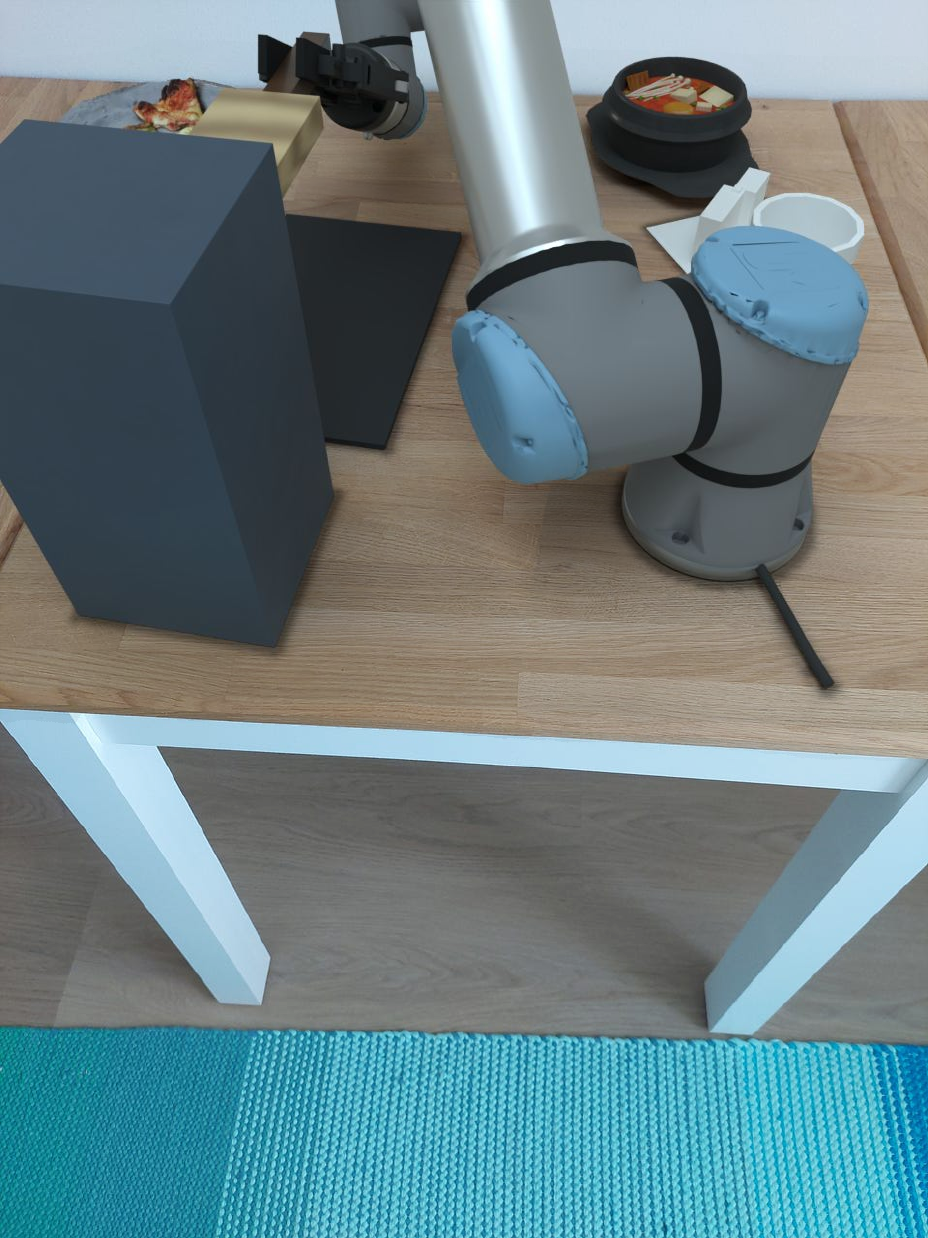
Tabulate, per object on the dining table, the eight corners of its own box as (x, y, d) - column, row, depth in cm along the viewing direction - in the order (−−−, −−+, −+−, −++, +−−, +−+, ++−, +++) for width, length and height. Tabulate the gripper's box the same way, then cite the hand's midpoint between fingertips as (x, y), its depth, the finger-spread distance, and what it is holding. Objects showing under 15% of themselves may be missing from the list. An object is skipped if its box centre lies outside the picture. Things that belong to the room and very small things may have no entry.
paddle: (276, 53, 82) (271, 21, 80) (363, 60, 81) (360, 28, 79) (173, 198, 69) (164, 165, 67) (277, 209, 68) (271, 175, 66)
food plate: (208, 78, 125) (202, 49, 122) (300, 147, 114) (295, 118, 111) (30, 136, 116) (19, 107, 113) (110, 217, 105) (100, 187, 102)
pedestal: (158, 470, 81) (24, 118, 57) (334, 495, 79) (273, 142, 55) (77, 614, 72) (-123, 268, 48) (275, 647, 70) (170, 303, 46)
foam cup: (819, 384, 87) (866, 258, 77) (719, 372, 88) (752, 246, 78) (817, 322, 93) (861, 197, 82) (723, 311, 94) (754, 187, 83)
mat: (287, 218, 105) (286, 213, 104) (461, 236, 102) (461, 231, 102) (172, 420, 85) (170, 415, 84) (384, 450, 83) (384, 445, 82)
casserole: (549, 128, 116) (554, 55, 109) (676, 97, 121) (688, 25, 114) (656, 229, 103) (669, 154, 96) (794, 190, 107) (816, 115, 100)
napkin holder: (696, 284, 97) (708, 233, 92) (644, 228, 103) (652, 177, 98) (819, 253, 100) (836, 202, 95) (761, 200, 106) (774, 149, 101)
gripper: (433, 138, 96) (373, 117, 74) (289, 124, 97) (190, 100, 76) (439, 54, 92) (378, 7, 71) (290, 41, 94) (187, -8, 73)
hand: (281, 55), depth 74 cm, fingers closed on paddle, 2 cm apart
